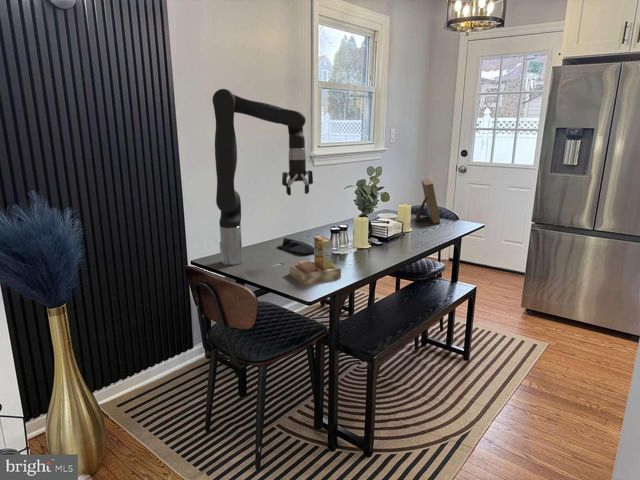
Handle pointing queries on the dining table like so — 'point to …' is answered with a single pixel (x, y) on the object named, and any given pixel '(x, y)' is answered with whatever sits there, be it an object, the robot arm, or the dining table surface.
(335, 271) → the wooden compartment tray
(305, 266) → the reddish brown block
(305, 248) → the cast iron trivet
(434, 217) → the photo frame
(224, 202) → the robot arm
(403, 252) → the dining table surface
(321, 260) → the candy box
